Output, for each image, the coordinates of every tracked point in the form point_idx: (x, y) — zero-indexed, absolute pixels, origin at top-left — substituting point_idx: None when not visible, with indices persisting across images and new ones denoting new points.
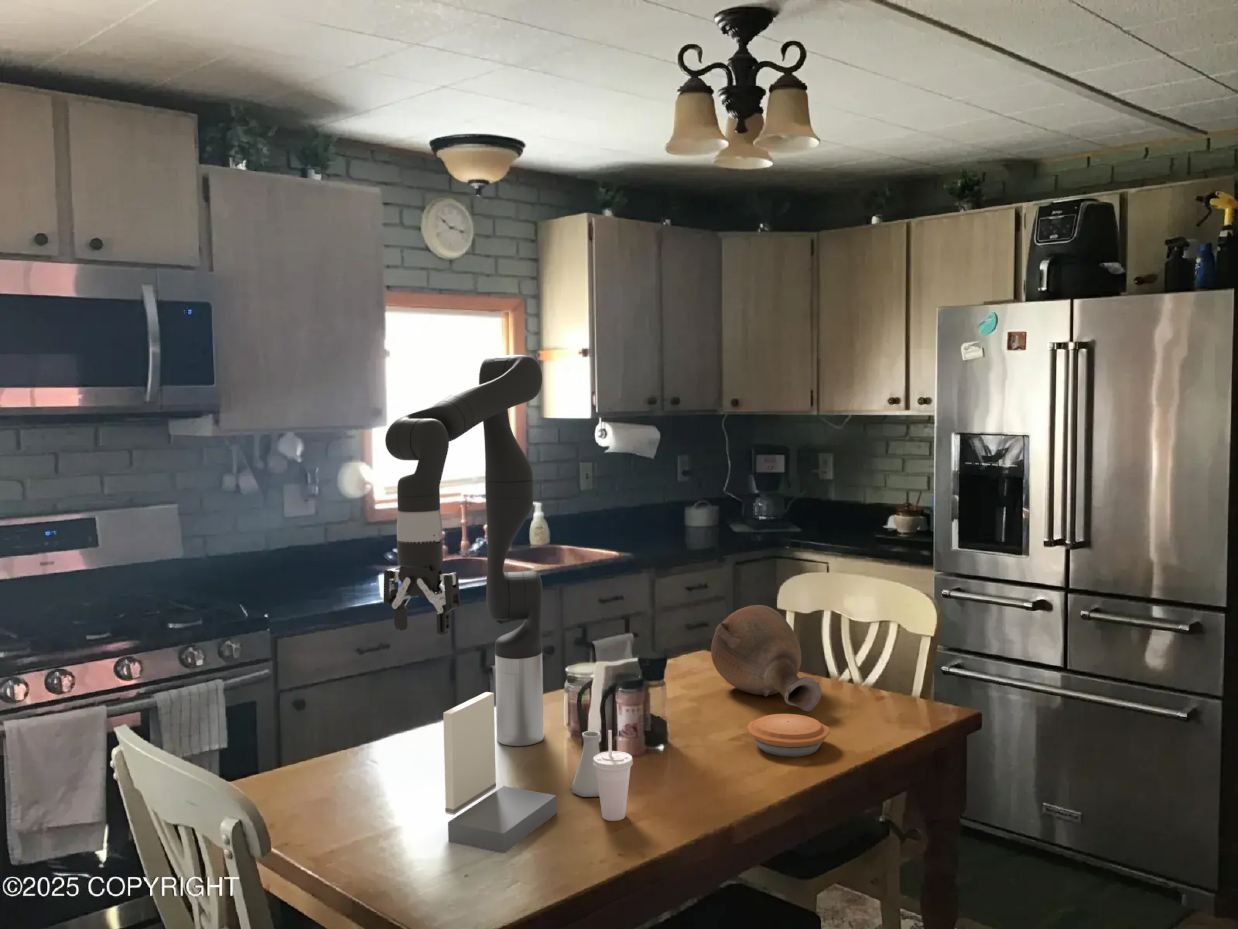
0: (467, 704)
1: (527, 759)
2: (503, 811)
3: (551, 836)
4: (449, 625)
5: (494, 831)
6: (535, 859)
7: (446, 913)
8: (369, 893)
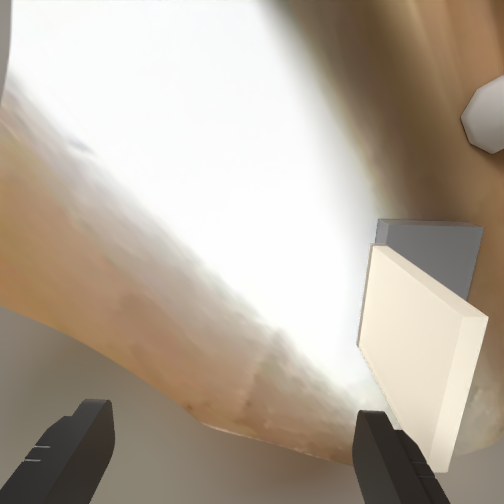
0: (456, 413)
1: (331, 15)
2: None
3: (480, 286)
4: (423, 460)
5: None
6: None
7: None
8: (342, 452)
